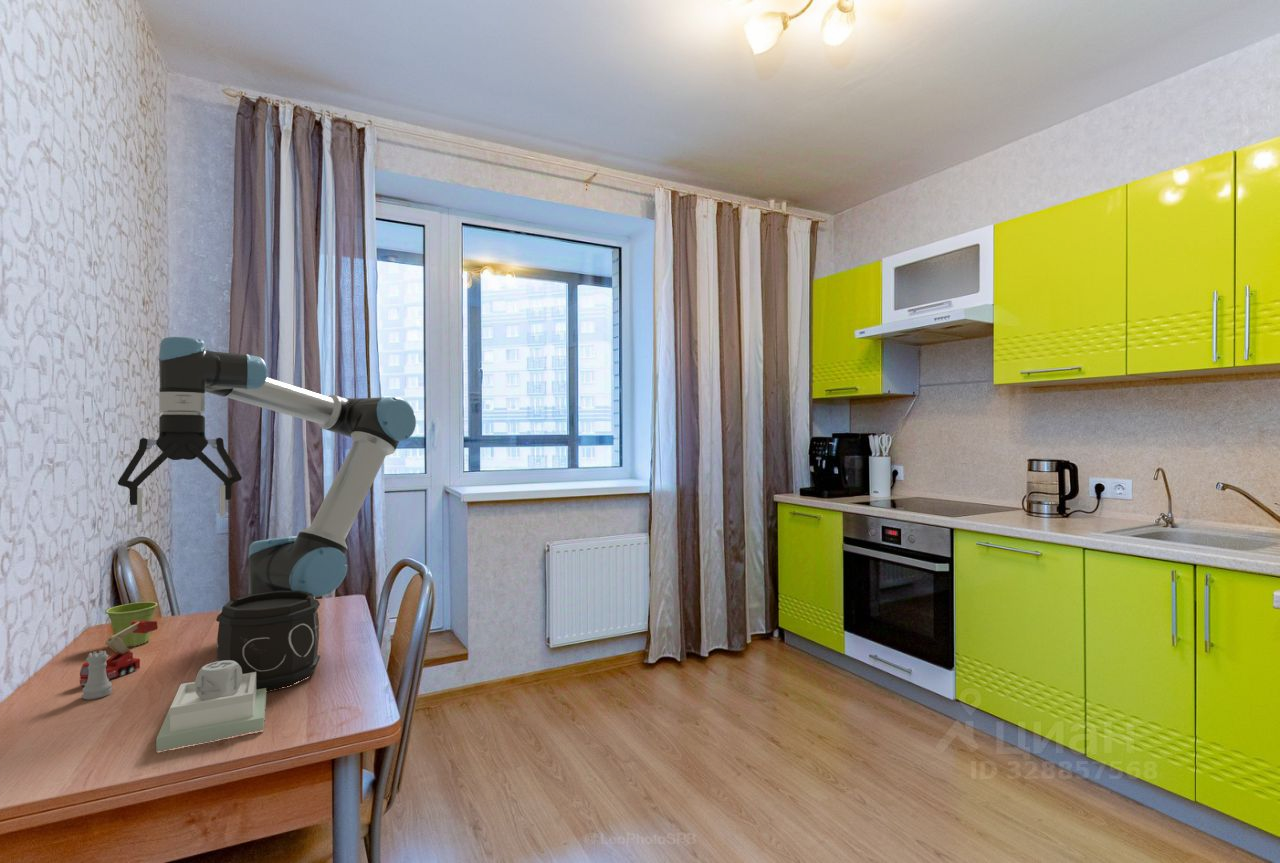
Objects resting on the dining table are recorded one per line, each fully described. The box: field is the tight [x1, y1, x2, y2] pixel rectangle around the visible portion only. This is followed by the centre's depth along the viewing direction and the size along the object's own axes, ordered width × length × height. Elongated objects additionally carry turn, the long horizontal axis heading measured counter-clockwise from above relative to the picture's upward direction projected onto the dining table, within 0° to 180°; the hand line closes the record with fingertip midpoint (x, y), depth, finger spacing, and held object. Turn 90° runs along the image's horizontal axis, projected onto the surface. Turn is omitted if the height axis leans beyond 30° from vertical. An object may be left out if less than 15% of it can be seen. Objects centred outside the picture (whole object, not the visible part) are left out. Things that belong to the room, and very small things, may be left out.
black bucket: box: [215, 591, 321, 692], centre depth 126 cm, size 18×18×16 cm
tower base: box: [155, 672, 267, 753], centre depth 105 cm, size 14×14×7 cm
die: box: [194, 660, 242, 700], centre depth 106 cm, size 5×5×5 cm
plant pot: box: [105, 601, 158, 648], centre depth 148 cm, size 9×9×9 cm
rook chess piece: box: [81, 650, 113, 701], centre depth 118 cm, size 4×4×8 cm
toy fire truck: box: [79, 620, 158, 687], centre depth 128 cm, size 3×14×10 cm, turn 168°
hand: (182, 518), depth 128 cm, fingers open, 13 cm apart
